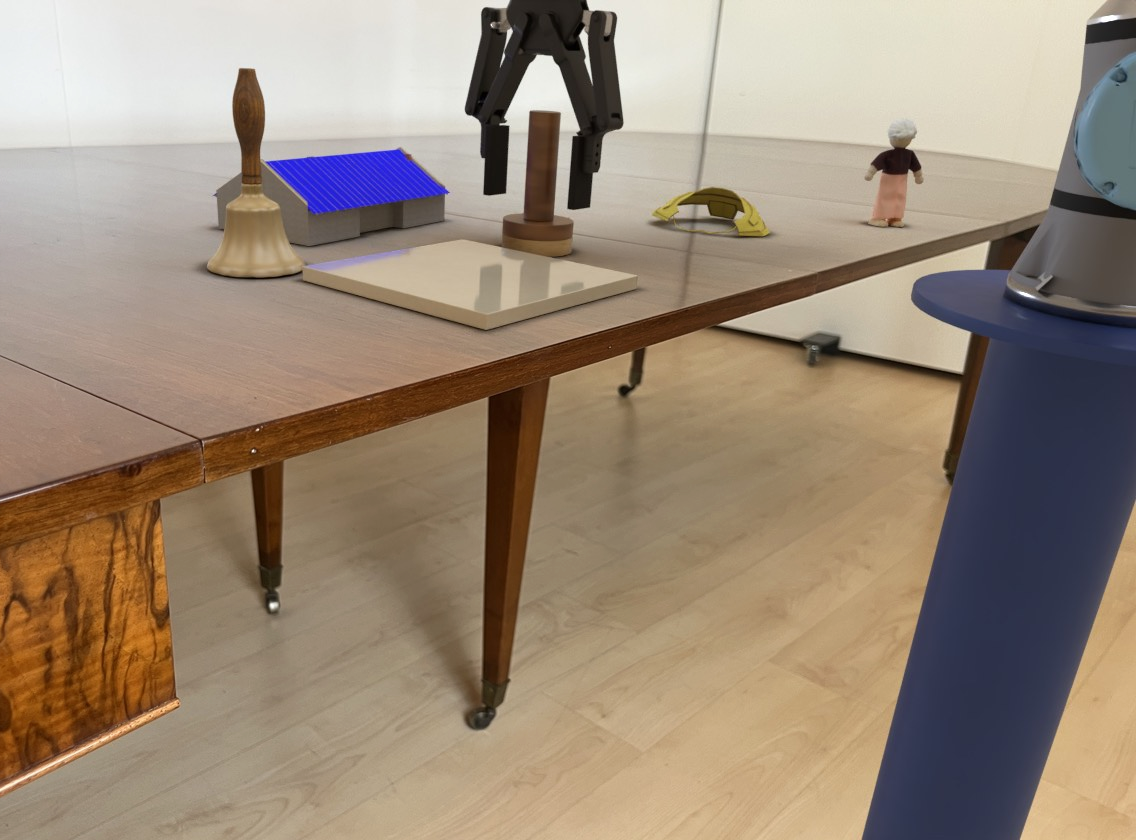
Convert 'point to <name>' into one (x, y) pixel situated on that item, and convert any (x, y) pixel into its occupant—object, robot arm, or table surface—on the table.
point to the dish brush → (540, 195)
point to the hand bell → (252, 200)
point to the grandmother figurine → (894, 174)
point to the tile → (471, 281)
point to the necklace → (718, 210)
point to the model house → (345, 194)
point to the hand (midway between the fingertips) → (535, 201)
